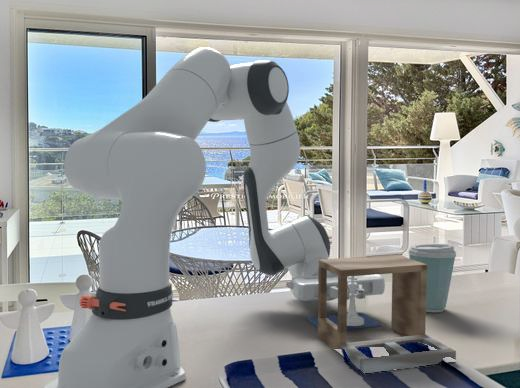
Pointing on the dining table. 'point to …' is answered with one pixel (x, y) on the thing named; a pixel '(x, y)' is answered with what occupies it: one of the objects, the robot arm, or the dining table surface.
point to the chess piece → (353, 305)
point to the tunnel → (403, 312)
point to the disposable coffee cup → (435, 272)
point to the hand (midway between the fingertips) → (354, 295)
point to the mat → (334, 318)
